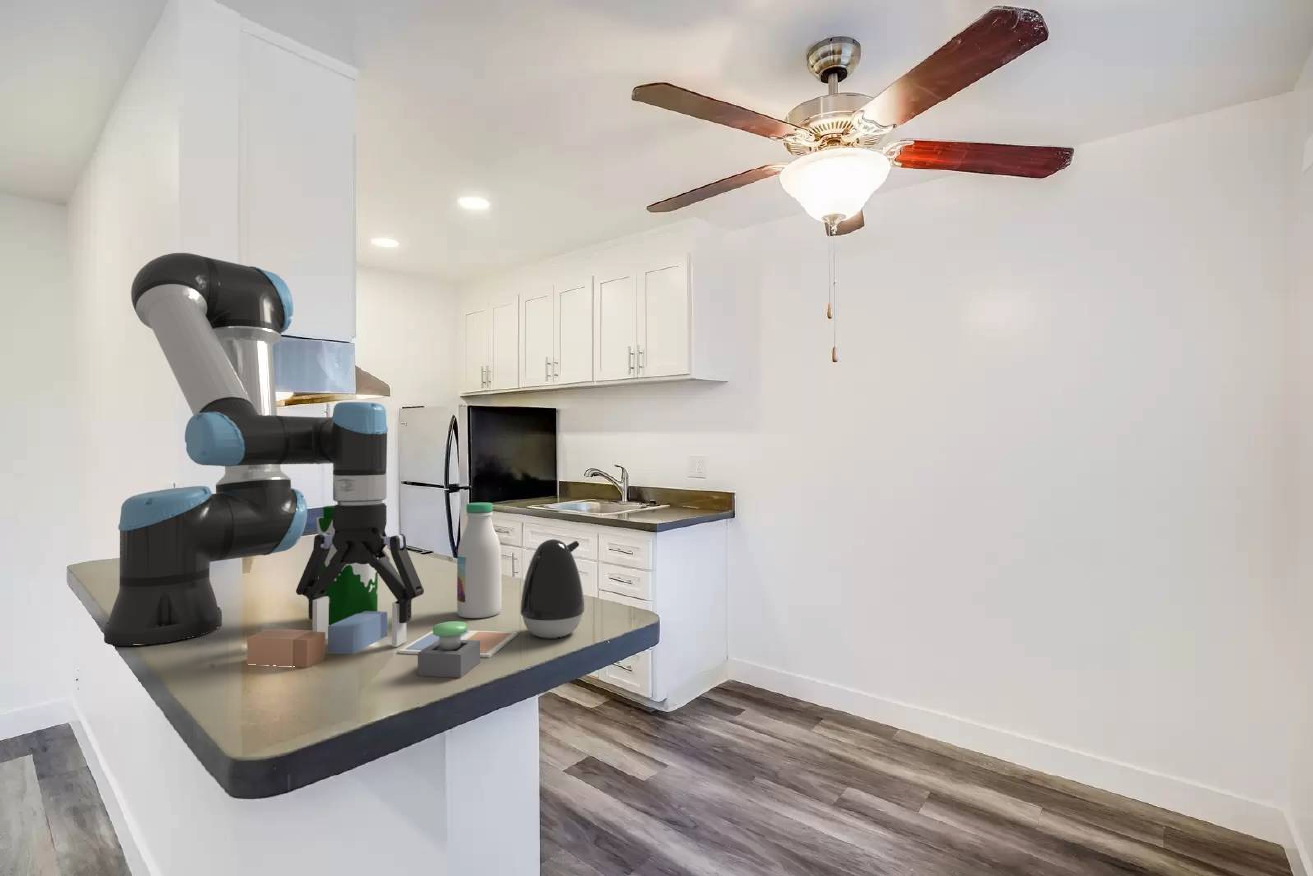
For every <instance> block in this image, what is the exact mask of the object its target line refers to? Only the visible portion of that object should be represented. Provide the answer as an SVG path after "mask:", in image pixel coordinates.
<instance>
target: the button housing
mask: <svg viewBox="0 0 1313 876" xmlns="http://www.w3.org/2000/svg"><path fill="white" fill-rule="evenodd" d="M480 663H481V657H480V641H476V640H461V646H460V647H459V648H456V649H451V650H443V649H440V648H439V640H437V641H436V642H434V643H433V644H431V645H429V646H428V647H426V648H425V649H423V650H421V651H420V652H418V654H417V676H419V677H420V676H422V677H437V678H438V677H439V678H441V677H442V678H456V679H457V678H459V679H461V678H463V677H465V675H466V674H467V673H470V671H471V670H473V669H474V668H475V667H476V666H477V665H479V664H480Z"/></svg>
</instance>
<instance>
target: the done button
mask: <svg viewBox="0 0 1313 876" xmlns="http://www.w3.org/2000/svg"><path fill="white" fill-rule="evenodd" d="M467 630H468V624H467V623H466V622H464V621H458V620H457V621H454V620H453V621H444V622H439V623H436V624H434V625H433V626H432V631H433V635H435V636H439V648H440V649H443V650H451V649H456V648H459V647H460V646H461V634H463V633H465V632H466V631H467Z"/></svg>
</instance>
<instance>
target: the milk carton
mask: <svg viewBox="0 0 1313 876" xmlns="http://www.w3.org/2000/svg"><path fill="white" fill-rule="evenodd" d="M333 507H334V505H325V506H323V507H322V509H323V511H322V512H323V514H322V515H323V516H322V517H320V516H319V517H316V519H315V520H316V528H317V529H316V531H317V535H320V534H325V533H330V534H331V535H334V533H335V529H334V528H333ZM336 552H337V550H336V548H335V547H334V545H332V547H331V548H330V551H329V554H328V556H327V559H326V561H325V563H324V566H323V568H322V570H321V573H320V575H321V574H322V573H323V571H324V570H325V569H326V567H327V566H328V565H329V563H330V560H331V558H332V557H333V556H334V554H335V553H336ZM377 559H379V558H377ZM320 575H319V577H320ZM378 576H379V574H378V573H377V571H376V570H375V569H374V568H372V567H371V566H370V565H369V563H368V564H358V563H353V564H346V565H345V566H344V567H343V569H342V570H341V572H340V573H339V574H338V576H337V577H336V578H335V580H334V581H333V582H332V584H331V585H330V586H329V588H328V589H327V590H326V592H325V593H326V594H325V593H324V594H325V595H323V596H322V597H324V596H328V597H329V625H332V624H334V623H336V622H339V621H341V620H343V619H346V618H348V617H350V616H353V615H355V614H359V613H362V612H364V611H378V603H379V602H378V593H379V592H378V591H379V589H378V588H379V587H378V586H379V585H378V578H379V577H378ZM319 577H318V578H319Z"/></svg>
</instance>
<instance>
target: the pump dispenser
mask: <svg viewBox="0 0 1313 876" xmlns="http://www.w3.org/2000/svg"><path fill="white" fill-rule="evenodd" d="M579 545H580V542H578V540H574V541H572V542H571V543H568V545H567V544H565V542H563V541H561V540H559V539H548V540H545V541H543V542H541V544H539V545H538V547H537V548H536V549H535V551H534V553H533V555H532V557H531V559H530V562H529V565H528V568H527V571H526V575H525V578H524V581H523V585H522V591H521V592H522V593H521V599H520V610H519V611H520V615H521V616H522V619H523V622H524V625H525V627H526V628H527V630H528V631H529V632H530V633H531V634H532V635H534V636H535V637H538V638H542V639H559V638H558V637H560V638H564V637H566V636H568V635H570V634H572V633H573V632H574V631H575V630H576V629H577V628H578V626H579V625H580V623H581V621H582V618H583V614H584V613H585V598H584V590H583V589H584V588H583V585H582V581H581V576H580V572H579V569H578V566H577V562H576V561H575V558H574V556H573V552H574V551H575V550H576V549H577V548H578V547H579ZM563 636H564V637H563Z"/></svg>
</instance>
